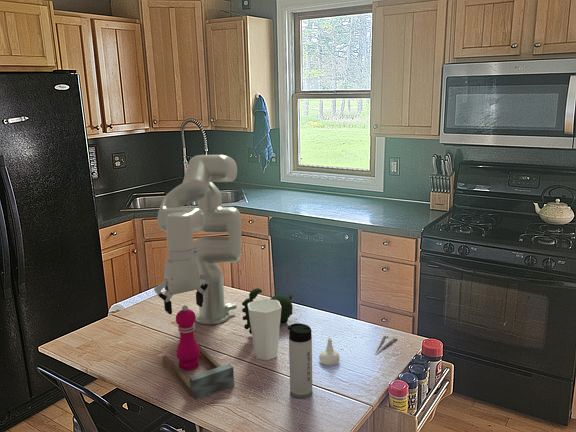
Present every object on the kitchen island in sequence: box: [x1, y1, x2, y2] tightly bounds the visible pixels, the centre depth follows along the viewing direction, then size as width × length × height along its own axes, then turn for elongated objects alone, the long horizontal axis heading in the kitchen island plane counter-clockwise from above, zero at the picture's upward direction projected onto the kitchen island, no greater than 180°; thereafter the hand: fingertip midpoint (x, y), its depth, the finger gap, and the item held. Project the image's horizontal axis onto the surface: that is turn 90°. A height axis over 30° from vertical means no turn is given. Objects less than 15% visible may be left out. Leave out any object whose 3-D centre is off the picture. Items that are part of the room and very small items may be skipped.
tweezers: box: [374, 335, 398, 355], centre depth 167 cm, size 17×5×2 cm, turn 148°
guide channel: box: [162, 344, 235, 401], centre depth 153 cm, size 12×24×6 cm, turn 33°
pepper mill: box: [175, 304, 200, 371], centre depth 156 cm, size 7×7×20 cm
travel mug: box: [286, 322, 313, 399], centre depth 140 cm, size 6×7×20 cm
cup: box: [247, 298, 282, 361], centre depth 162 cm, size 11×10×17 cm
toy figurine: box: [241, 287, 293, 335], centre depth 180 cm, size 9×19×25 cm
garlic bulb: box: [318, 337, 341, 367], centre depth 158 cm, size 6×6×8 cm
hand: (184, 309), depth 154 cm, fingers open, 9 cm apart
